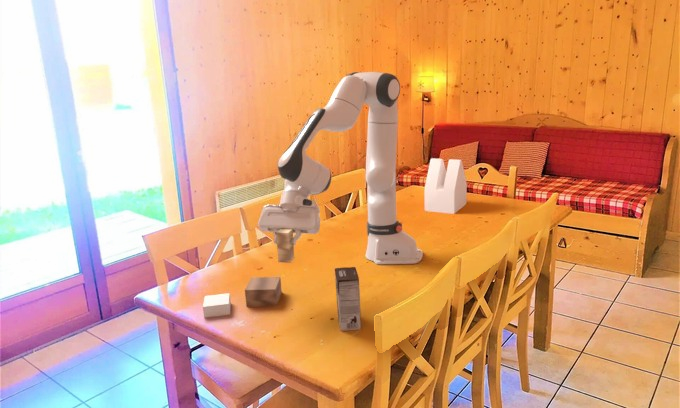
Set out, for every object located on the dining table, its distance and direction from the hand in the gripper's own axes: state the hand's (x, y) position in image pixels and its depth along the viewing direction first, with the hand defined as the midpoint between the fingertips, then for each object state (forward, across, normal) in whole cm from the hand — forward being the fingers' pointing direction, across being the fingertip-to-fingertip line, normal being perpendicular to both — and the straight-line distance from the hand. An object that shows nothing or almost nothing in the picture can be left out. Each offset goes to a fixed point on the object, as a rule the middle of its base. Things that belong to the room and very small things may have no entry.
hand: (284, 243), depth 165 cm
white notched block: (-68, +44, +96) cm, 125 cm away
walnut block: (+14, -9, +16) cm, 23 cm away
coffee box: (+22, +23, +7) cm, 32 cm away
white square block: (+21, -21, +9) cm, 31 cm away
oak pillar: (+4, 0, +4) cm, 6 cm away
